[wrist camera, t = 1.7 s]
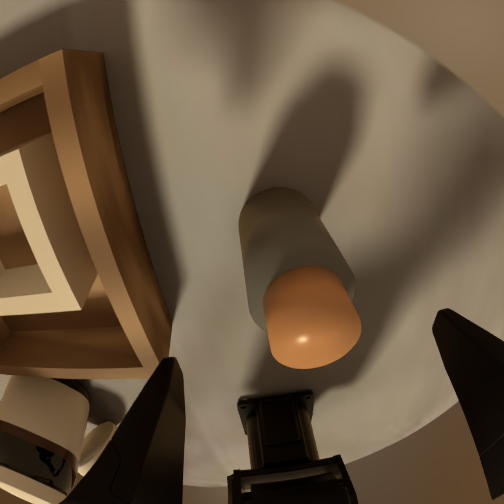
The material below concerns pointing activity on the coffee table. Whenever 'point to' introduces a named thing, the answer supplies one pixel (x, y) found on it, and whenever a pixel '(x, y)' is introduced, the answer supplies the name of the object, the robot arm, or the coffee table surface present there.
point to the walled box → (92, 227)
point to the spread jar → (46, 438)
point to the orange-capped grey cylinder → (297, 280)
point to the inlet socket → (44, 234)
